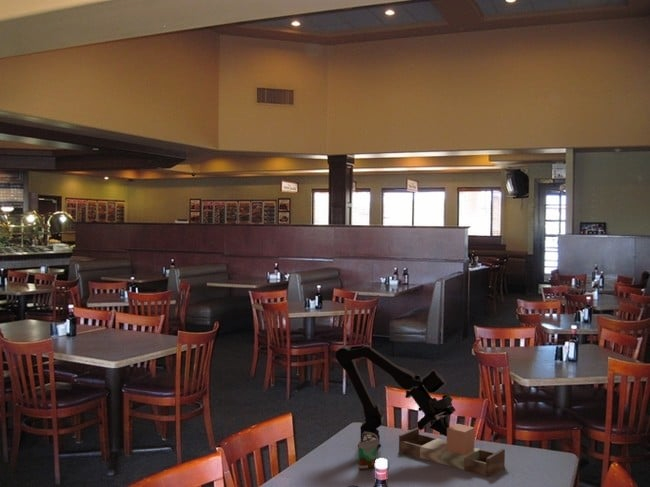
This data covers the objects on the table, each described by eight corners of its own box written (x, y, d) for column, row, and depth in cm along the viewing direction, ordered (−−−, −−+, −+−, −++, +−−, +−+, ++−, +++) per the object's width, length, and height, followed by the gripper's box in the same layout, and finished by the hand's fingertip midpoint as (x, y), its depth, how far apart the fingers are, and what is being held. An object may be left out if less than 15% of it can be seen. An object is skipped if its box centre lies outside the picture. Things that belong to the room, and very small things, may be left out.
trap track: (398, 451, 235) (399, 435, 235) (416, 443, 244) (416, 427, 244) (488, 476, 212) (489, 458, 212) (504, 466, 221) (504, 449, 221)
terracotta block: (446, 450, 225) (447, 427, 225) (456, 445, 230) (456, 423, 230) (464, 455, 220) (465, 432, 220) (474, 450, 226) (474, 427, 225)
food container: (376, 473, 214) (377, 443, 213) (358, 471, 215) (358, 442, 215) (380, 460, 226) (381, 432, 226) (363, 459, 227) (363, 431, 227)
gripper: (424, 393, 223) (452, 431, 217) (451, 383, 238) (478, 418, 231) (405, 411, 229) (432, 449, 222) (432, 400, 243) (458, 435, 236)
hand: (451, 437), depth 228 cm, fingers closed
